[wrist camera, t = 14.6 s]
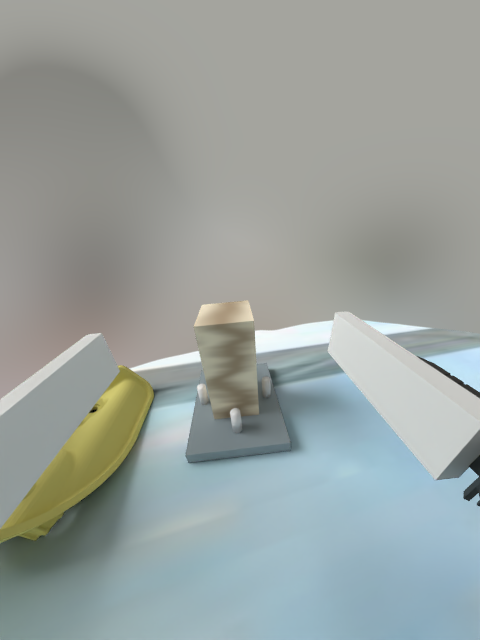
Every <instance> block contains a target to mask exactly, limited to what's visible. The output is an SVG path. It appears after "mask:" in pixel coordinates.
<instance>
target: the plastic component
mask: <svg viewBox="0 0 480 640" xmlns="http://www.w3.org/2000/svg"><path fill="white" fill-rule="evenodd" d="M118 368H119V370H120V372H119V373H118V375H117V376H116V377H115V379H114V380H113V381H112V383H111V384H110V385H109V387H108V388H107V389H106V391H105V392H104V393H103V394H102V396H101V397H100V398H99V400H98V401H97V402H96V404H95V405H94V406H93V408H92V409H91V410H90V412H91V411H92V410H95V409H96V410H97V411H96V412H94V413H90V412H89V413H88V414H87V416H86V417H85V418H84V419H83V421H82V422H81V423H80V425H79V426H78V427H77V429H76V430H75V431H74V433H73V434H72V435H71V437H70V438H69V439H68V441H67V442H66V443H65V444H64V446H63V447H62V448H61V450H60V451H59V452H58V454H57V455H56V456H55V458H54V459H53V460H52V462H51V463H50V464H49V466H48V467H47V468H46V469H45V471H44V472H43V473H42V475H41V476H40V477H39V479H38V480H37V481H36V483H35V484H34V485H33V487H32V488H31V489H30V491H29V492H28V493H27V495H26V496H25V497H24V498H23V500H22V501H21V502H20V504H19V505H18V506H17V508H16V509H15V510H14V512H13V513H12V514H11V516H10V517H9V518H8V520H7V521H6V522H5V523H4V525H3V526H2V527H1V529H0V543H2V542H4V541H6V540H9V539H11V538H14V537H16V536H21V537H24V538H27V539H31V540H34V541H36V540H37V539H38V537H39V536H41V535H44V536H45V535H46V534H47V533H48V532H49V530H50V529H51V527H52V526H53V525H54V524H55V523H56V522H57V520H58V519H60V518H61V517H62V516H63V514H64V513H63V512H64V511H66V510H67V509H69V508H70V507H72V506H74V505H75V504H77V503H78V502H79V501H81V500H82V499H84V498H85V497H86V496H88V495H89V494H90V493H92V492H93V491H94V490H95V489H96V488H98V487H99V486H100V485H101V484H102V483H103V482H104V481H105V480H106V479H107V478H108V477H109V476H110V475H111V474H112V473H114V472H115V470H116V469H117V468H118V467H119V465H120V464H121V463H122V462H123V460H124V459H125V458H126V456H127V455H128V453H129V452H130V450H131V448H132V447H133V445H134V443H135V442H136V439H137V437H138V434H139V432H140V430H141V427H142V425H143V422H144V420H145V417H146V415H147V413H148V410H149V408H150V405H151V403H152V400H153V398H154V392H153V389H152V387H151V385H150V384H149V383H148V382H147V381H146V380H145V379H143V378H142V377H140V376H139V375H137V374H136V373H134V372H133V371H131V370H130V369H129V368H127V367H125V366H121V365H119V366H118Z"/></svg>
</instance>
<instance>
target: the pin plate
mask: <svg viewBox="0 0 480 640" xmlns="http://www.w3.org/2000/svg"><path fill="white" fill-rule="evenodd" d="M256 366H257V384H258V402H259V415H250V416H241V414H240V410H239V409H238V408H233V409H232V410H231V411H230V416H231V418H222V419H214V416H213V411H212V407H211V402H210V398H209V393H208V389H207V384H206V380H205V375H204V371H203V370H201V376H200V381H199V385H198V386H197V390H198V392H197V397H196V402H195V408H194V413H193V418H192V424H191V429H190V434H189V440H188V445H187V450H186V458H187V461H188V463H191V462H199V461H208V460H216V459H224V458H232V457H241V456H249V455H257V454H265V453H274V452H282V451H290V449H291V441H290V438H289V435H288V432H287V428H286V425H285V422H284V419H283V415H282V412H281V409H280V405H279V402H278V399H277V396H276V392H275V389H274V386H273V383H272V379H271V376H270V373H269V370H268V366H267V363H263V364H256Z"/></svg>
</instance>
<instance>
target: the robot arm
mask: <svg viewBox="0 0 480 640" xmlns="http://www.w3.org/2000/svg"><path fill="white" fill-rule="evenodd" d="M328 353H329V354H330V355H331V356H332V357H333V358H334V360H335V361H336V362H337V363H338V364H339V366H340V367H341V368H342V369H343V370H344V372H345V373H346V374H347V375H348V376H349V378H350V379H351V380H352V381H353V382H354V384H355V385H356V386H357V387H358V388H359V390H360V391H361V392H362V393H363V394H364V396H365V397H366V398H367V399H368V400H369V402H370V403H371V404H372V405H373V406H374V408H375V409H376V410H377V411H378V412H379V413H380V415H381V416H382V417H383V418H384V419H385V421H386V422H387V423H388V424H389V425H390V427H391V428H392V429H393V430H394V431H395V433H396V434H397V435H398V436H399V437H400V439H401V440H402V441H403V442H404V443H405V445H406V446H407V447H408V448H409V449H410V451H411V452H412V453H413V454H414V455H415V457H416V458H417V459H418V460H419V461H420V463H421V464H422V465H423V466H424V467H425V468H426V470H427V471H428V472H429V473H430V474H431V476H432V477H433V478H434V479H435V480H442V479H450V478H459V477H460V476H461V475H462V474H463V473H464V472H465V471H466V470H467V469H468V468H469V467H470V468H471V469H472V470H473V471H474V472H475V473H476V474H477V475H478V476H479V477H478V478H477V479H476V480H475V481H474V482H473V483H472V484H471V485H470V486H469V487H468V488H467V489H466V490H465V491H464V499H466V500H468V501H470V500H471V499H472V498H473V497H474V496H475V495H477V494H478V493H479V496H480V392H478V391H476V390H475V389H473V388H472V387H470V386H469V385H465V384H464V382H462V381H461V380H459V379H458V378H456V377H455V376H451V375H450V373H448V372H447V371H445V370H444V369H442V368H440V367H439V366H437V365H436V364H434V363H432V362H429V361H427V360H425V359H423V358H420V357H418V356H415V355H413V354H412V353H410V352H409V351H407V350H406V349H404V348H403V347H401V346H400V345H398V344H397V343H395V342H394V341H392V340H391V339H389V338H388V337H386V336H385V335H383V334H382V333H380V332H379V331H377V330H376V329H374V328H373V327H371V326H370V325H368V324H367V323H365V322H364V321H362V320H361V319H359V318H357V317H356V316H354V315H353V314H351V313H350V312H336V313H335V317H334V322H333V327H332V332H331V337H330V342H329V348H328ZM119 372H120V370H119V368H118V366H117V364H116V362H115V360H114V358H113V356H112V353H111V351H110V349H109V347H108V345H107V343H106V341H105V339H104V337H103V335H102V333H98V334H87V335H86V336H85V337H84V338H82V339H81V340H79V341H78V342H77V343H76V344H74V345H73V346H71V347H70V348H69V349H67V350H66V351H65V352H63V353H62V354H61V355H59V356H58V357H57V358H55V359H54V360H53V361H51V362H50V363H48V364H47V365H46V366H45V367H43V368H42V369H40V370H39V371H38V372H37V373H35V374H34V375H32V376H31V377H30V378H29V379H27V380H26V381H24V382H23V383H22V384H20V385H19V386H18V387H16V388H15V389H14V390H12V391H11V392H10V393H8V394H7V395H6V396H4V397H3V398H1V399H0V529H1V527H2V526H3V525H4V523H5V522H6V521H7V520H8V518H9V517H10V516H11V514H12V513H13V512H14V510H15V509H16V508H17V506H18V505H19V504H20V502H21V501H22V500H23V498H24V497H25V496H26V495H27V493H28V492H29V491H30V489H31V488H32V487H33V485H34V484H35V483H36V481H37V480H38V479H39V477H40V476H41V475H42V473H43V472H44V471H45V469H46V468H47V467H48V466H49V464H50V463H51V462H52V460H53V459H54V458H55V456H56V455H57V454H58V452H59V451H60V450H61V448H62V447H63V446H64V444H65V443H66V442H67V441H68V439H69V438H70V437H71V435H72V434H73V433H74V431H75V430H76V429H77V427H78V426H79V425H80V423H81V422H82V421H83V419H84V418H85V417H86V416H87V414H88V413H89V412H90V410H91V409H92V408H93V406H94V405H95V404H96V402H97V401H98V400H99V398H100V397H101V396H102V394H103V393H104V392H105V391H106V389H107V388H108V387H109V385H110V384H111V383H112V381H113V380H114V379H115V377H116V376H117V375H118V373H119ZM477 505H478V506H480V500H479V501H478V503H477Z"/></svg>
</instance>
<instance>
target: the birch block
mask: <svg viewBox="0 0 480 640" xmlns="http://www.w3.org/2000/svg"><path fill="white" fill-rule="evenodd" d="M194 331H195V335H196V339H197V344H198V348H199V353H200V357H201V362H202V366H203V371H204V375H205V380H206V384H207V389H208V393H209V398H210V402H211V407H212V411H213V416H214V419H222V418H231V416H230V411H231V410H232V409H233V408H238V409H239V410H240V414H241V416H250V415H259V402H258V384H257V366H256V348H255V330H254V319H253V316H252V312H251V308H250V305H249V302H248V301H238V302H228V303H217V304H207V305H202V306H201V309H200V311H199V314H198V317H197V319H196V322H195V325H194Z"/></svg>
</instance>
